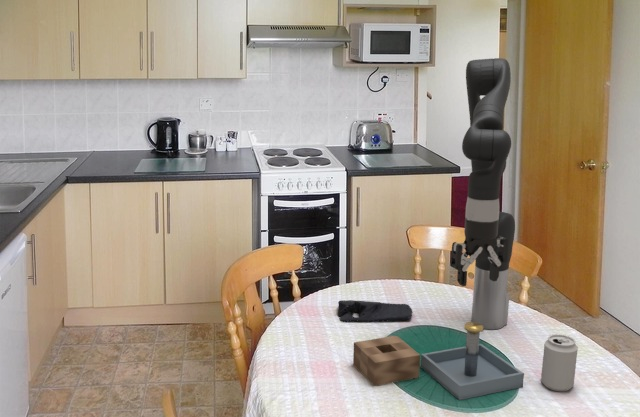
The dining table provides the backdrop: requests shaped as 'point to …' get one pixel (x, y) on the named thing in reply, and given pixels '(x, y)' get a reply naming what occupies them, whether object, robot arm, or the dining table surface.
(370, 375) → the pin block
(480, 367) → the tray
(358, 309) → the dark slate chunk
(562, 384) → the can
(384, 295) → the dining table surface
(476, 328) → the pin
